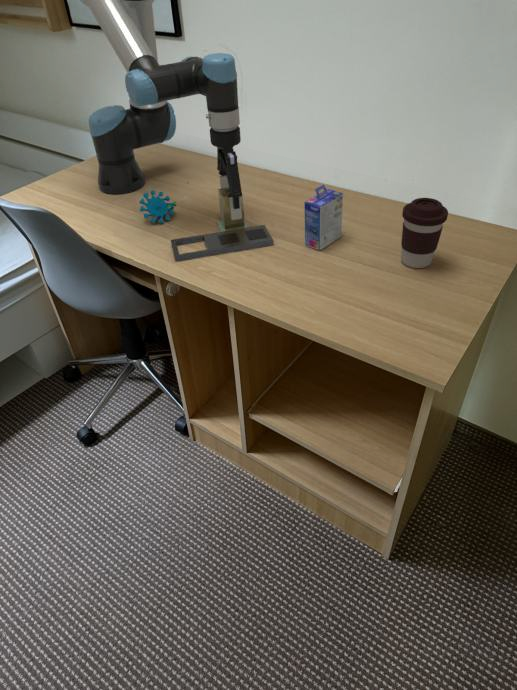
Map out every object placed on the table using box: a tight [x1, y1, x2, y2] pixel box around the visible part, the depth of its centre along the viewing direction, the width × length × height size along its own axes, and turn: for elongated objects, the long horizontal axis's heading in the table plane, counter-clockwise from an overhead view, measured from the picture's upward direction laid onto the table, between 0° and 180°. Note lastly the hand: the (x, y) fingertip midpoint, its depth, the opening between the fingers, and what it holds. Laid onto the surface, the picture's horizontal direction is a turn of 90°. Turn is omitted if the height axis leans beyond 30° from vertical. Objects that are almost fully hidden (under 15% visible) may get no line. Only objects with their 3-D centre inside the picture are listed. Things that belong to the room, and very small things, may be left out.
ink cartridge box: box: [304, 184, 344, 251], centre depth 126 cm, size 10×6×14 cm, turn 138°
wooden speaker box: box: [217, 187, 245, 231], centre depth 136 cm, size 6×6×10 cm
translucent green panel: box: [216, 218, 249, 232], centre depth 139 cm, size 8×8×1 cm
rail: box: [170, 224, 274, 262], centre depth 131 cm, size 9×26×2 cm, turn 104°
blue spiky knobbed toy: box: [139, 189, 178, 225], centre depth 145 cm, size 11×6×10 cm
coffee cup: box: [400, 197, 449, 269], centre depth 117 cm, size 10×10×15 cm
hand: (231, 208), depth 136 cm, fingers open, 13 cm apart
